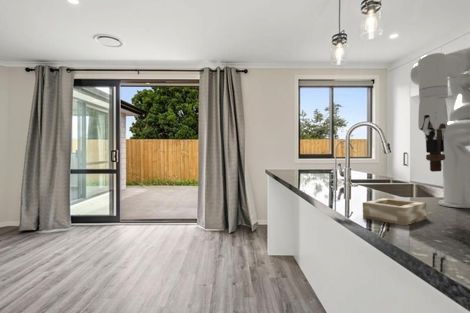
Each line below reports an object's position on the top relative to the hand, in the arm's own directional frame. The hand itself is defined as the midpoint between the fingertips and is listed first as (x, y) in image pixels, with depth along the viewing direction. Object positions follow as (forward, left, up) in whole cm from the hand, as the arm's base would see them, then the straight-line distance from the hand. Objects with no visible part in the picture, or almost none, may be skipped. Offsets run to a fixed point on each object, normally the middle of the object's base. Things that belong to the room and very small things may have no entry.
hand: (435, 151), depth 91 cm
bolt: (0, 0, -7) cm, 7 cm away
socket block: (+13, -7, -21) cm, 25 cm away
